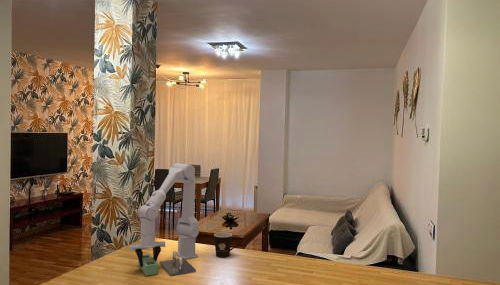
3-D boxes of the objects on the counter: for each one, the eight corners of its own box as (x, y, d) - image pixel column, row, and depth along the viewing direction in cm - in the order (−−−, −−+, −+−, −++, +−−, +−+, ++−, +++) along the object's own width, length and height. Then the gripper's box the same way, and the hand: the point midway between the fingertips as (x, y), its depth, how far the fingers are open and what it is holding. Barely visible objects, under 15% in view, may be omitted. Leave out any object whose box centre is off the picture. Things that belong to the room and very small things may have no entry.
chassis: (159, 263, 174) (159, 251, 174) (183, 260, 179) (183, 248, 179) (170, 276, 160) (170, 262, 159) (195, 271, 165) (196, 258, 165)
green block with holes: (138, 264, 171) (138, 255, 171) (149, 263, 174) (149, 254, 174) (145, 275, 159) (145, 266, 159) (158, 273, 161) (158, 264, 161)
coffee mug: (210, 256, 184) (210, 235, 184) (219, 251, 192) (220, 231, 192) (231, 261, 179) (231, 239, 178) (240, 255, 187) (241, 234, 186)
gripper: (132, 238, 159) (132, 271, 159) (167, 234, 166) (167, 265, 166) (128, 233, 165) (128, 265, 166) (162, 229, 172) (162, 260, 172)
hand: (147, 265), depth 166 cm, fingers closed on green block with holes, 5 cm apart
